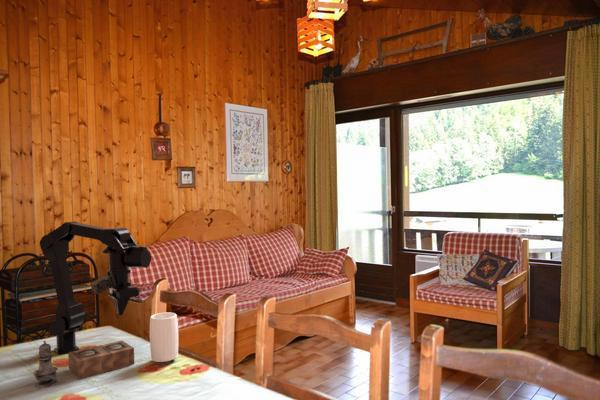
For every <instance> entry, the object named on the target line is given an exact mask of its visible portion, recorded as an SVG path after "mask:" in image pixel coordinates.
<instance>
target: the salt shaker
mask: <svg viewBox="0 0 600 400" xmlns="http://www.w3.org/2000/svg"><path fill="white" fill-rule="evenodd" d="M38 356H39V357H37V360H38V363H39V365H38V368H37V369H36V370H35V371H34V372H33V376H34V378H35V380H37V383H35V386H34V387H35V388H38V389H42V388H48V387H51V386H54V385H55V384H57V382H58V381H57V380H56V379H55V377H56V375H57V372H58V367H55V366H53V363H52V362H53V361H52V358H53V355H52V346H51V344H50V343H47V342H46V340H43V344H40V346H39V347H38Z"/></svg>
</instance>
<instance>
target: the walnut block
mask: <svg viewBox="0 0 600 400" xmlns="http://www.w3.org/2000/svg"><path fill="white" fill-rule="evenodd" d="M117 344H119V345H122V347H121V348H117V349H113V350H108V347H109V346H111V345H117ZM85 351H95V354H92V355H88V356H83V357H80V353H82V352H85ZM67 356H68V357H67V358H68V359H67V360H68V370H69V372H71V374H73V375H74V376H75V377H76V378H77V379H78V380H81V379H84V378H87V377H88V378H89V377H92V376H95V375H99V374H104V373H107V372H110V371H113V370H118V369H122V368H126V367H129V366H133V365H135V348H134V347H133V346H131V345H130V344H129V343H127V342H126V341H124V340H118V341H115V342H114V341H113V342H109V343H105V344H100V345H96V346H92V347H87V348H84V349H83V348H82V349H79V350H76V351H71V352H67Z"/></svg>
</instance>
